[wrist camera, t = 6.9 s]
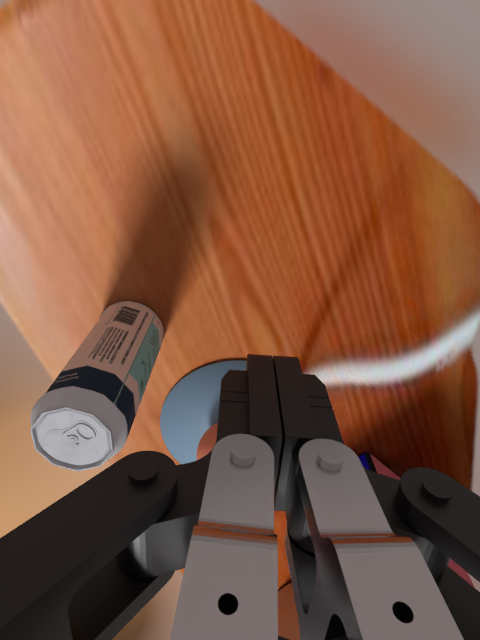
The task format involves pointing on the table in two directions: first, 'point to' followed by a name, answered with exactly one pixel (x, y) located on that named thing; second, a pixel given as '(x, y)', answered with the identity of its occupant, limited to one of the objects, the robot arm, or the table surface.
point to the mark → (193, 408)
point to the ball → (207, 442)
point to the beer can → (98, 389)
